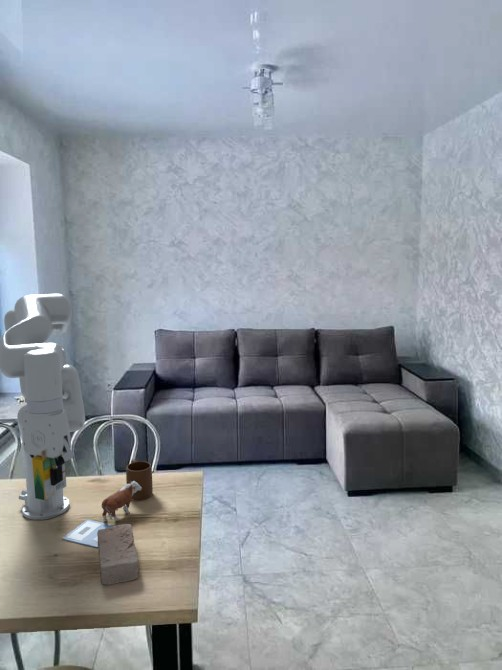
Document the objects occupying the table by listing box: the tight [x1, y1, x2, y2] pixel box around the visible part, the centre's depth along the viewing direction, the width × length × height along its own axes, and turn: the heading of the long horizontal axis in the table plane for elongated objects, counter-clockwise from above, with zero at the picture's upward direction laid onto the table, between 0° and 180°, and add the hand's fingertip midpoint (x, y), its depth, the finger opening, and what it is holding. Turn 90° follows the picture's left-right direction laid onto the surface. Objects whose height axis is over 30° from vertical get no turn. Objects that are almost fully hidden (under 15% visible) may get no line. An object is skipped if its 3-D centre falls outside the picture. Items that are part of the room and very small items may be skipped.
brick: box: [97, 523, 140, 586], centre depth 120 cm, size 17×8×5 cm, turn 19°
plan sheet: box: [62, 519, 116, 549], centre depth 132 cm, size 14×10×1 cm
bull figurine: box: [101, 481, 142, 523], centre depth 142 cm, size 4×13×8 cm, turn 146°
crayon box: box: [32, 450, 67, 500], centre depth 116 cm, size 7×3×12 cm, turn 160°
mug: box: [125, 458, 154, 502], centre depth 155 cm, size 12×8×9 cm, turn 26°
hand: (50, 481), depth 116 cm, fingers closed on crayon box, 3 cm apart
